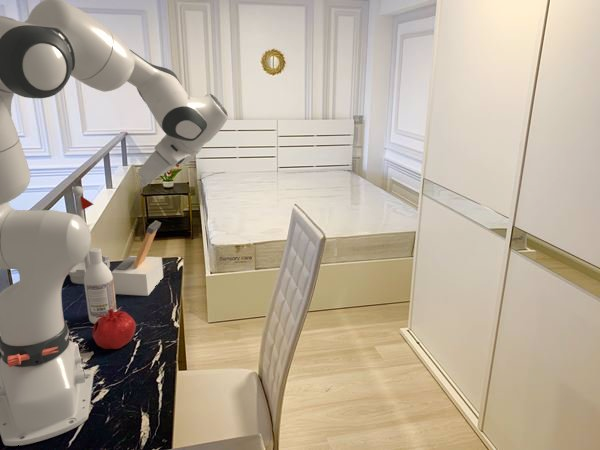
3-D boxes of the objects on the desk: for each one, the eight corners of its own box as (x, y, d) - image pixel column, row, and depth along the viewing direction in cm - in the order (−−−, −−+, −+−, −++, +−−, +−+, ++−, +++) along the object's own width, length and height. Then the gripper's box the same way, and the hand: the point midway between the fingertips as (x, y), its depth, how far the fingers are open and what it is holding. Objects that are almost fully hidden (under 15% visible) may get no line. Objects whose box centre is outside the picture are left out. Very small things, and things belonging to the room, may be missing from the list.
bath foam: (120, 319, 122) (113, 250, 116) (93, 328, 118) (84, 256, 112) (112, 309, 127) (104, 242, 121) (86, 317, 123) (76, 248, 117)
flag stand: (57, 281, 143) (42, 189, 133) (87, 266, 155) (75, 179, 145) (91, 288, 139) (79, 193, 130) (119, 271, 151) (110, 183, 142)
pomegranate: (144, 335, 116) (142, 302, 113) (119, 357, 107) (116, 322, 104) (111, 328, 118) (108, 295, 115) (84, 348, 109) (80, 314, 106)
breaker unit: (163, 277, 148) (161, 255, 145) (148, 295, 135) (145, 272, 133) (131, 275, 148) (129, 254, 146) (113, 293, 136) (111, 270, 134)
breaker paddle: (145, 260, 143) (161, 222, 138) (137, 268, 137) (153, 229, 132) (140, 257, 142) (155, 220, 138) (132, 266, 136) (147, 226, 132)
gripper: (182, 133, 127) (150, 166, 130) (155, 144, 107) (119, 183, 111) (198, 149, 128) (167, 182, 132) (175, 163, 109) (138, 201, 112)
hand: (144, 182), depth 121 cm, fingers closed
